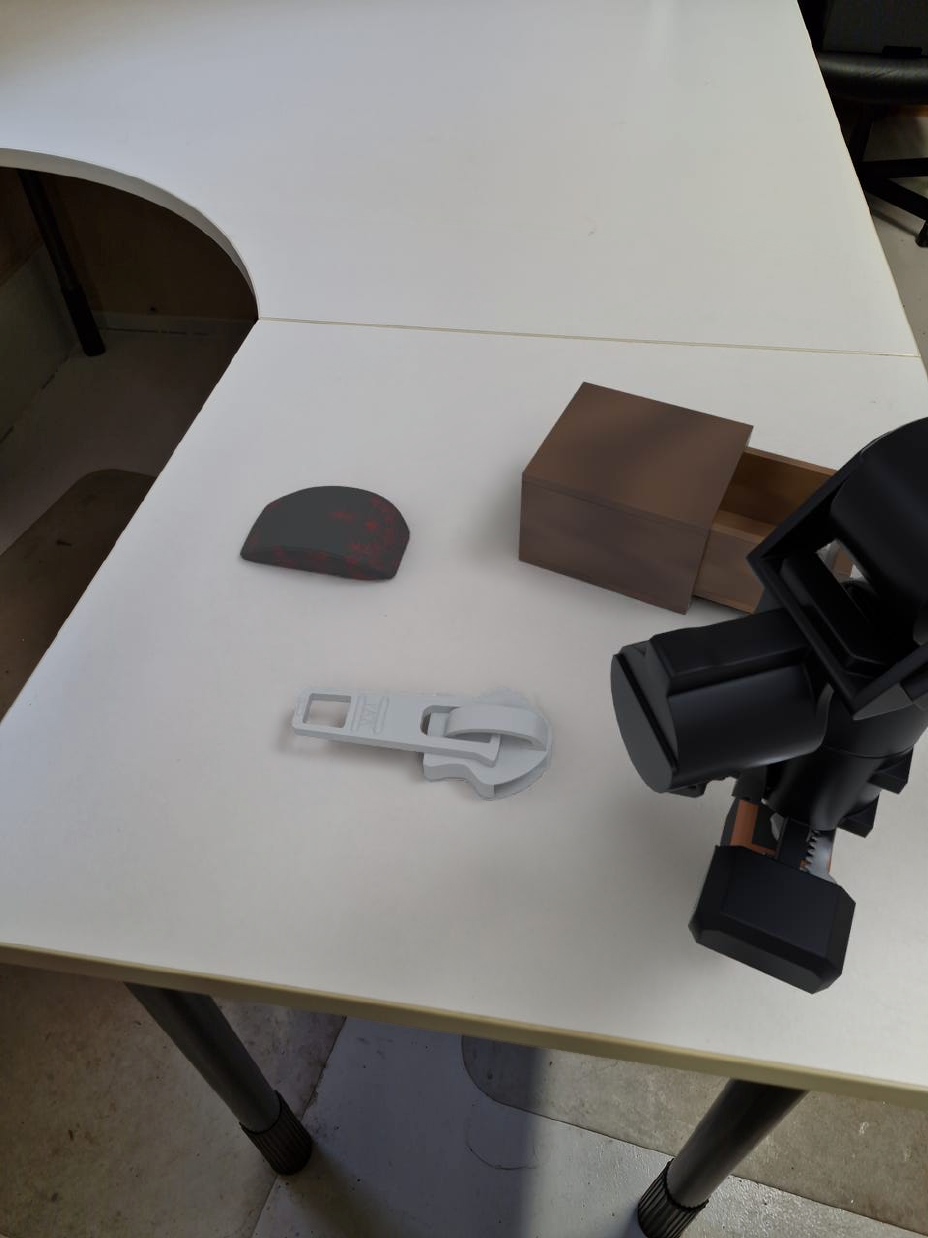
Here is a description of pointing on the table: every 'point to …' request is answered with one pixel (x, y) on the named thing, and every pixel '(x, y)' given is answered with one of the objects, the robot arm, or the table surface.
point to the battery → (755, 828)
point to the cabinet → (628, 493)
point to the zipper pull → (445, 734)
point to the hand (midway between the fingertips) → (763, 857)
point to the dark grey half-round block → (330, 533)
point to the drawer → (758, 525)
